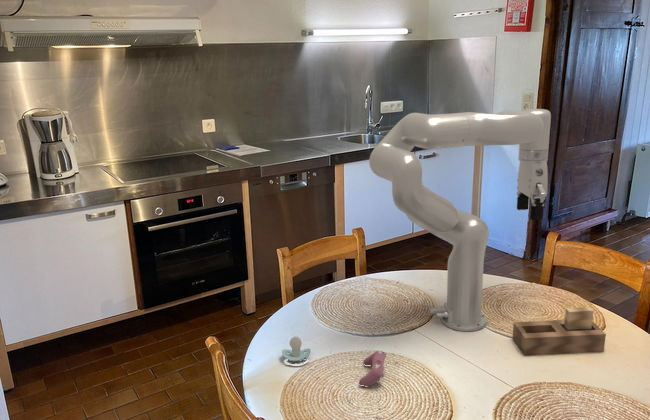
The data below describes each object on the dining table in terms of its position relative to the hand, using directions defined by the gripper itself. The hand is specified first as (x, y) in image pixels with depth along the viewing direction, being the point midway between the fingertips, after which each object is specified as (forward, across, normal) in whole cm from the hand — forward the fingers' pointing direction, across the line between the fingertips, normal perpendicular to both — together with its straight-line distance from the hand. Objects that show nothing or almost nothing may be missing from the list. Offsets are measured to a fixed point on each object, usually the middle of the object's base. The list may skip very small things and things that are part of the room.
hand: (529, 214), depth 149 cm
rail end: (+28, -23, -5) cm, 37 cm away
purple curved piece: (+29, -32, +48) cm, 65 cm away
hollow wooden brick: (+28, -23, 0) cm, 36 cm away
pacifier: (+29, -24, +67) cm, 77 cm away
